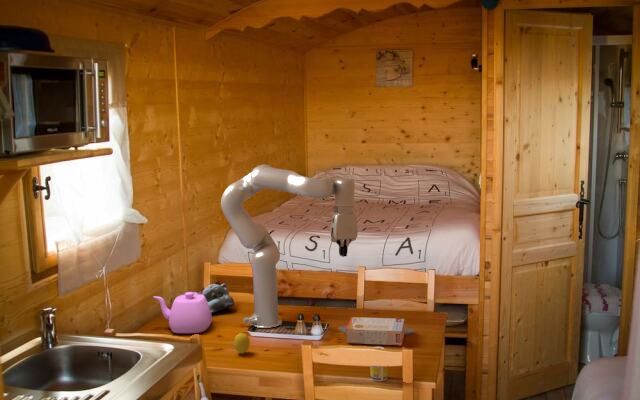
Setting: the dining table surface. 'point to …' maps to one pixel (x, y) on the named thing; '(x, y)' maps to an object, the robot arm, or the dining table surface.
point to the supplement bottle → (378, 372)
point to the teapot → (187, 313)
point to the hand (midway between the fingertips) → (343, 255)
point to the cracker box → (375, 331)
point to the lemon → (241, 343)
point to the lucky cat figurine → (217, 297)
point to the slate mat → (407, 331)
